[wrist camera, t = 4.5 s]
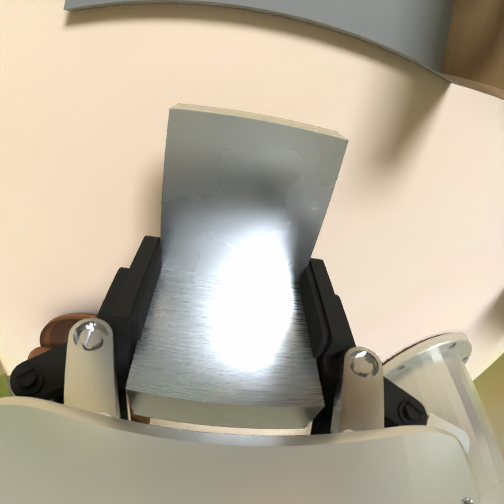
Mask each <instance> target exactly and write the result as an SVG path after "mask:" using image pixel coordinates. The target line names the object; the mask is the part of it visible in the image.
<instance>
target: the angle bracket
mask: <svg viewBox="0 0 504 504" xmlns="http://www.w3.org/2000/svg"><path fill="white" fill-rule="evenodd" d="M347 144H348V140H347V139H346V138H345V137H343V136H342V135H341V134H339V133H338V132H337V131H333V130H329V129H325V128H321V127H317V126H313V125H309V124H305V123H300V122H296V121H291V120H286V119H282V118H277V117H272V116H266V115H261V114H255V113H250V112H243V111H237V110H230V109H223V108H216V107H208V106H200V105H190V104H180V103H178V104H177V105H175V106H173V107H171V108H170V110H169V119H168V128H167V138H166V149H165V161H164V174H163V190H162V211H161V248H162V269H161V273H160V276H159V279H158V282H157V285H156V288H155V291H154V295H153V298H152V301H151V304H150V308H149V311H148V314H147V318H146V321H145V325H144V328H143V332H142V335H141V339H140V340H138V342H137V346H136V349H135V353H134V357H133V360H132V364H131V368H130V372H129V376H128V380H127V384H126V388H125V390H126V393H127V396H128V399H129V402H130V404H131V407H132V410H133V413H134V414H135V415H140V416H145V417H151V418H157V419H163V420H169V421H176V422H183V423H191V424H199V425H209V426H220V427H234V428H254V429H305V428H306V427H307V426H308V425H309V423H310V422H311V421H312V420H313V419H314V418H315V417H316V416H317V414H318V413H319V412H320V411H321V410H322V409H323V408H324V406H325V405H324V400H323V395H322V389H321V384H320V379H319V374H318V369H317V364H316V359H315V358H313V353H312V348H311V343H310V338H309V333H308V328H307V323H306V318H305V313H304V309H303V304H302V299H301V295H300V290H299V283H300V281H301V278H302V275H303V272H304V270H305V267H307V266H308V263H309V260H310V257H311V255H312V252H313V249H314V246H315V243H316V240H317V237H318V235H319V232H320V229H321V226H322V223H323V220H324V217H325V214H326V211H327V208H328V205H329V202H330V199H331V196H332V193H333V189H334V186H335V183H336V180H337V177H338V174H339V170H340V167H341V164H342V161H343V157H344V154H345V151H346V147H347Z"/></svg>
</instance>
